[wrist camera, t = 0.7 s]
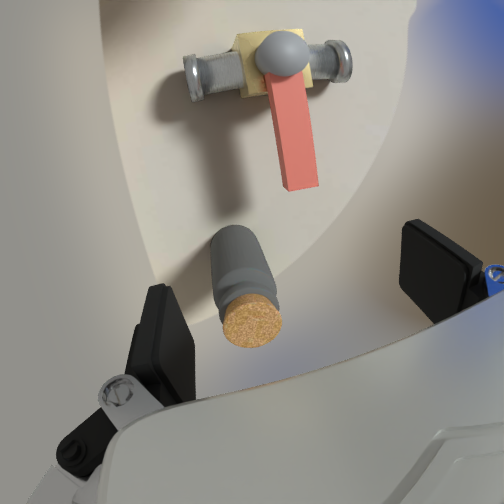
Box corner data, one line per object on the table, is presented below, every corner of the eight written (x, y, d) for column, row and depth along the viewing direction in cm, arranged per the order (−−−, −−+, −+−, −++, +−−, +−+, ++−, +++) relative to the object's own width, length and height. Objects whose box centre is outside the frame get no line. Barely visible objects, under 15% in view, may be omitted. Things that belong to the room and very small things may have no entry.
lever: (250, 41, 21) (256, 32, 18) (294, 37, 21) (305, 29, 18) (276, 187, 27) (284, 195, 25) (317, 180, 27) (329, 187, 25)
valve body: (184, 57, 26) (179, 44, 20) (327, 41, 27) (350, 29, 21) (194, 107, 28) (191, 105, 23) (336, 88, 29) (361, 84, 24)
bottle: (202, 257, 36) (203, 341, 23) (223, 216, 34) (237, 286, 21) (244, 274, 38) (266, 359, 25) (266, 236, 36) (303, 310, 23)
